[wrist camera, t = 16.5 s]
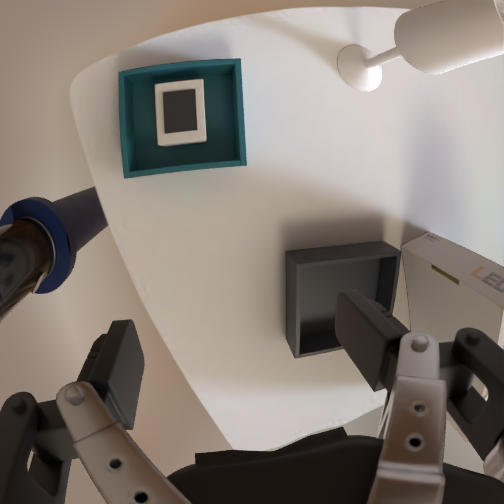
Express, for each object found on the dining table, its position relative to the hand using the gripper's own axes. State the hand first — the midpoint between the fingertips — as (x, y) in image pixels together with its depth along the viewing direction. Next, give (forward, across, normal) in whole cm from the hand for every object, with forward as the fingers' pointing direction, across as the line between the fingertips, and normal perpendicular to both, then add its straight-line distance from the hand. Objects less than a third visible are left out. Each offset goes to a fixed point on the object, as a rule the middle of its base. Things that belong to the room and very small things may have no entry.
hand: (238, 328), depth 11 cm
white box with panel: (+24, +2, -11) cm, 26 cm away
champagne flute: (+25, -20, -17) cm, 36 cm away
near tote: (+24, +2, -11) cm, 27 cm away
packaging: (+25, -33, +21) cm, 46 cm away
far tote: (+24, -15, +13) cm, 31 cm away
